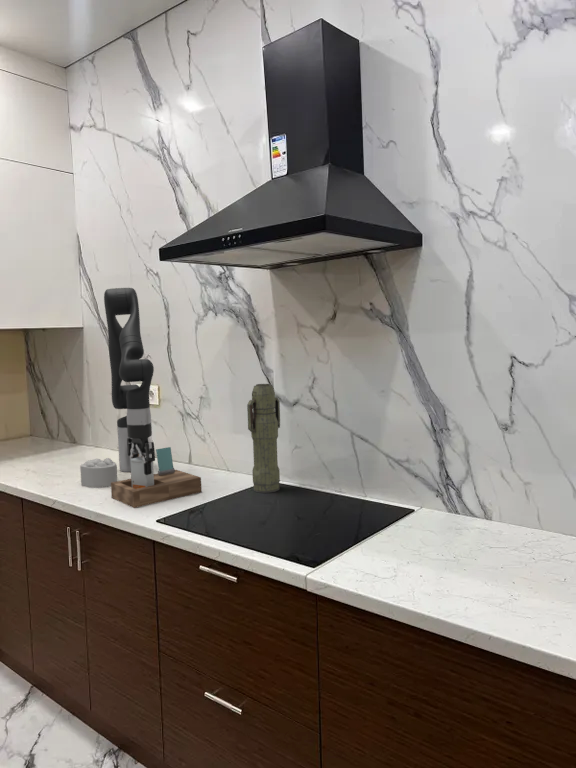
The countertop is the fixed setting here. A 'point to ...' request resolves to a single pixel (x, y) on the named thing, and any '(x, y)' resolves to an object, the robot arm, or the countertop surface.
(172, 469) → the teal card holder
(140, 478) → the skincare box
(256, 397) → the thermos
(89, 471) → the lumpy-topped squat cylinder
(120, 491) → the socket block
